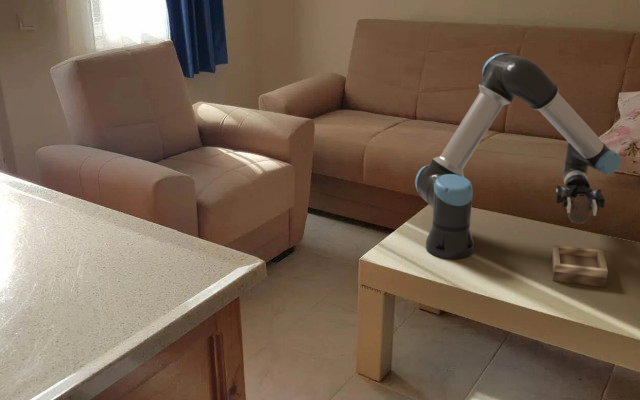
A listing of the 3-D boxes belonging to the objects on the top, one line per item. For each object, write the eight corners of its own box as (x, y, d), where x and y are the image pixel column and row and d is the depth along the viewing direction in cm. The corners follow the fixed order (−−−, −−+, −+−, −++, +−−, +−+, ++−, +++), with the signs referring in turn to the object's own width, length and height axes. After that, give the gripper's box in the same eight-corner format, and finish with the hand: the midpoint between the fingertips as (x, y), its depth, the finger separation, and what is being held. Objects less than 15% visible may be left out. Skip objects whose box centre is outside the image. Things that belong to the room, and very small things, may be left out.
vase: (594, 223, 192) (599, 197, 189) (576, 227, 190) (581, 200, 187) (578, 215, 198) (582, 189, 195) (561, 218, 196) (564, 192, 193)
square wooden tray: (552, 280, 180) (554, 265, 178) (551, 259, 192) (553, 244, 191) (605, 287, 176) (607, 271, 174) (600, 265, 188) (602, 250, 187)
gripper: (606, 198, 206) (615, 225, 185) (544, 192, 211) (546, 218, 191) (610, 177, 203) (619, 201, 182) (547, 171, 208) (549, 195, 188)
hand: (582, 210), depth 187 cm, fingers closed on vase, 7 cm apart
